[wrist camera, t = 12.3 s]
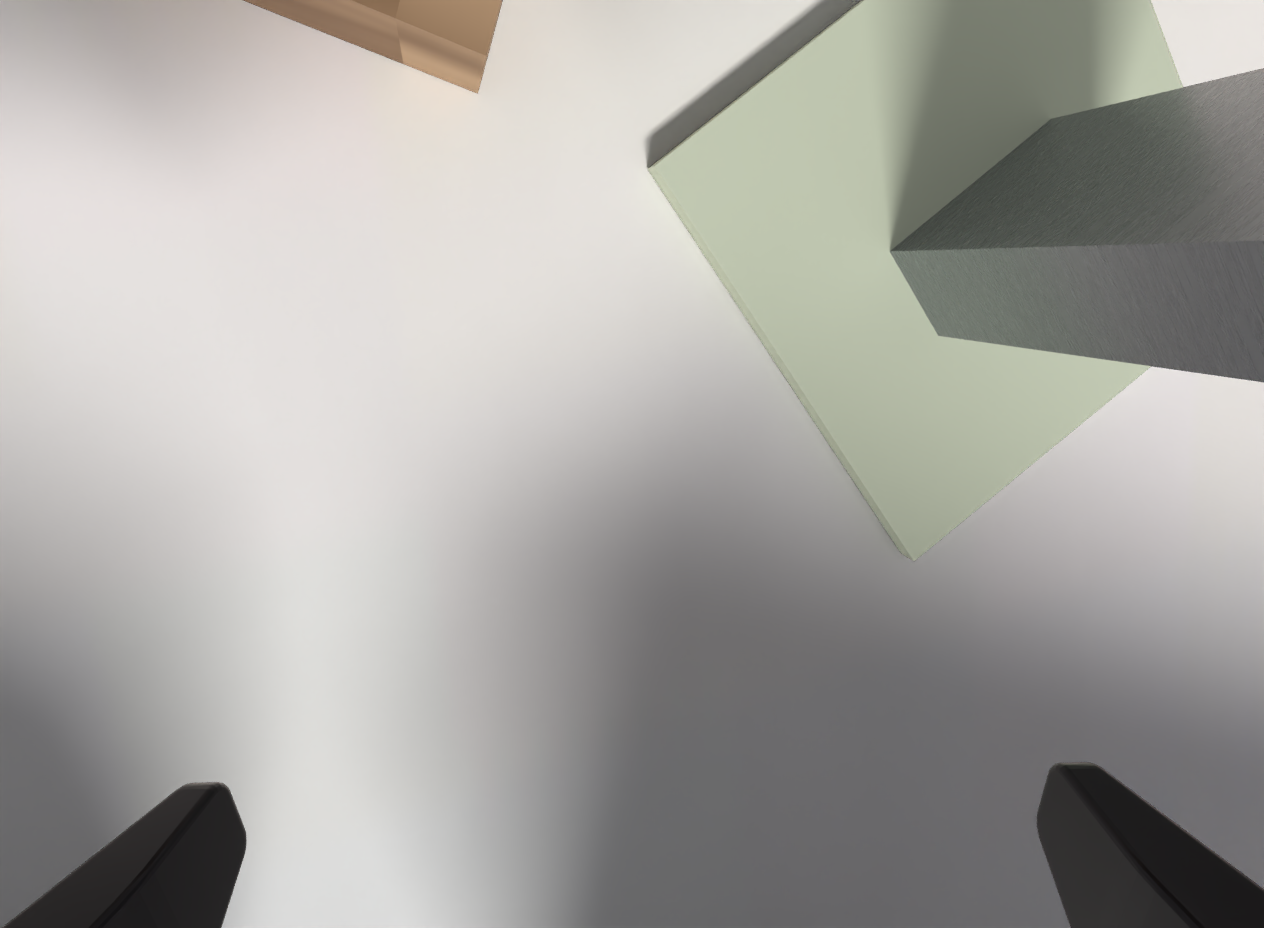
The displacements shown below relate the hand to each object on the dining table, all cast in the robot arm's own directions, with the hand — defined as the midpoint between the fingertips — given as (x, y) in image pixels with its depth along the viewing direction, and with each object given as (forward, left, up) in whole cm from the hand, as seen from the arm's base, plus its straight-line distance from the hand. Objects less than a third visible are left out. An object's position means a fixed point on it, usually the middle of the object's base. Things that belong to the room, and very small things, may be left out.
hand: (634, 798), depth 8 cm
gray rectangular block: (+13, -2, -10) cm, 16 cm away
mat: (+13, -2, -10) cm, 17 cm away
